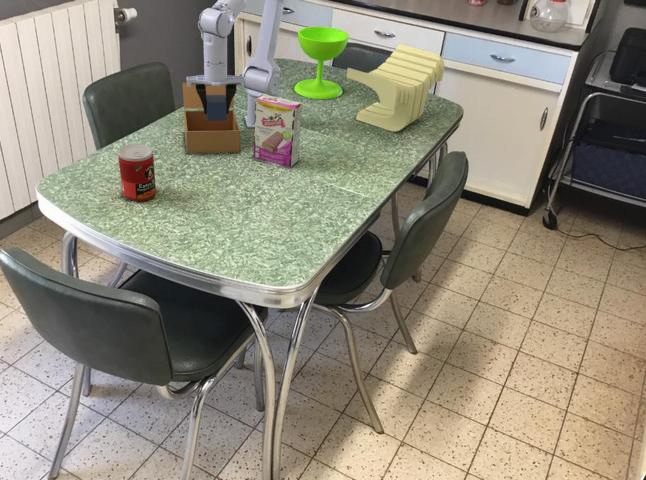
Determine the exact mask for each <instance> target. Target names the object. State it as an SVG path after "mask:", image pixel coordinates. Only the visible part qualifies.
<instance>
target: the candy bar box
mask: <svg viewBox="0 0 646 480" xmlns="http://www.w3.org/2000/svg"><path fill="white" fill-rule="evenodd" d="M302 115H303V102H300V101H297V100H296V101H295V100H293V99H287V98H283V97H281V96H280V97H276V96H272V95H267V94H262V95H261V96H259V97H258V98H257V99H256V100H255V125H254V126H255V127H253V128H254V129H253V132H254V133H253V158H254V159H258V160H261V161H266V162H269V163H274V164H277V165H281V166H284V167H289V168H291V167H292V166H294V165H295V164H297V163H298V162H299V153H300V138H301V127H302Z"/></svg>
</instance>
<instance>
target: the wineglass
mask: <svg viewBox="0 0 646 480" xmlns="http://www.w3.org/2000/svg"><path fill="white" fill-rule="evenodd" d="M349 37H350V35H349V33H348V32H346V31H344V30H342V29H340V28H339V29H338V28H334V27H330V26H329V27H328V26H308V27H303V28H300V29H299V30H298V32H297V39H298V40H297V41H298V43H299V46H300V48H301V50H302V52H303V53H304V54H305V55H306V56H308V57H309V58H310V59H312V60H315V61H317V67H316V78H310V79H309V78H307V79H303V80H300V81H298V82H297V83H296V84H295V85H294V87H293V89H294V92H295V93H296V94H297V95H299V96H302V97H305V98H308V99H311V100H312V99H314V100H331V99H336V98H338V97H340V96H342V94H343V93H344V92H343V89H342V87H341V86H340V85H339V84H338V83H336V82H334V81H331V80H327V79H323V76H324V65H325V62H326V61H332V60H333V59H336V58H337V57H338V56H340V54H342V53H343V52H344V50H345V49H346V46H347V44H348V42H349Z"/></svg>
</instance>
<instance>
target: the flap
mask: <svg viewBox="0 0 646 480" xmlns="http://www.w3.org/2000/svg"><path fill="white" fill-rule="evenodd" d="M206 95H225V98H226V87H225V86H206ZM182 96H183V97H182V98H183V109H204V108H203V105H202V102H201V99H200V97H199V95H198V93H197V91H196V86H191V87H187V82H182ZM230 108H235V98H234V97H233V99H232V101H231V104H230ZM230 108H229V109H230Z"/></svg>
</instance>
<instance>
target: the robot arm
mask: <svg viewBox="0 0 646 480" xmlns="http://www.w3.org/2000/svg"><path fill="white" fill-rule="evenodd" d="M285 1H286V0H264V5H263V11H262V17H261V22H260V28H259V32H258V39H257V43H256V49H255V55H254V56H253V57H252V58H250V59H248V60H247V61H246V64H245V68H244V70H243V72H242V74H241V75H231V74H228V36H229V35H230V34H231V32H232V29H233V25H234V24H235V22H236V21H235V20H236V18H237V17H238V16H239V15H241V12H243V10H244V9H245V8H246V5H247V1H246V0H217V1H216V2H215V3H214V4H213V5H212V7H207V8H205V9H203V10H202V11H201V12H200V14H199V17H198V22H197V27H198V30H199V32H200V36H201V37H200V39H201V40H202V41H203V70H204V71H203V74H199V75H191V76H186V83H187V87H191V86H196V91H197V93H198V95H199V97H200V99H201V102H202V105H203V108H202V109H203V110H204V114H207V106H206V86H225V87H226V102H227V114H229V110H230V104H231V101H232V99H233V98H234V97H235V95H236V94H237V90H238V89H237V86H239V87H243V88H244V89H245V93H247V111H246V112H247V113H246V115H244V120H245V123H246V127H247V128H254V127H255V126H254V125H255V100H256V99H257V98H258V97H259V96H261V95H262V94H267V95H272V96H276V97H280V98H281V94H280V92H278V91H279V89H280V86H281V70H282V69H281V68H280V66H279V65H278V63H277V62H276V61H275V54H276V50H277V49H276V48H277V44H278V38H279V34H280V28H281V23H282V19H283V12H284V9H285V8H284V7H285V3H286V2H285Z"/></svg>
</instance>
